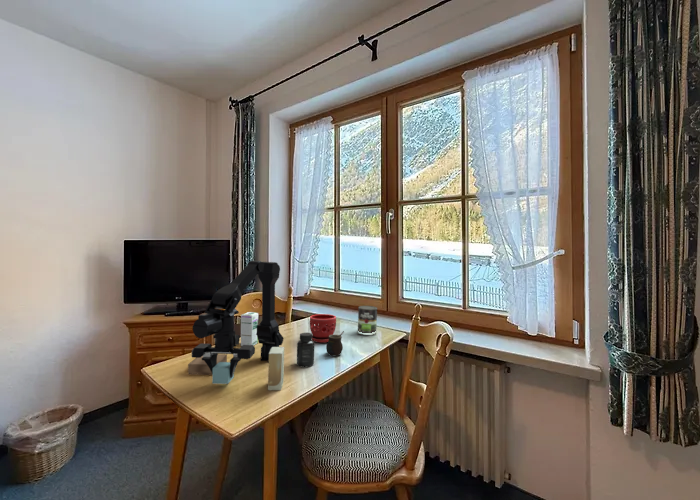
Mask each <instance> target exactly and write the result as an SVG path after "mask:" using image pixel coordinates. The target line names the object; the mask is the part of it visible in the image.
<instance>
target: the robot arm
mask: <svg viewBox="0 0 700 500" xmlns="http://www.w3.org/2000/svg"><path fill="white" fill-rule="evenodd" d="M280 273H281V266H280V265H279V263H278V262H274V261H260V260H249V261H248V262H247V265H246V266H245V267H244V268H243V269H242V270H241V271H240V273H239V274H238V275H237V276H236V277H235V278H234V279H233V280H232V281H231V282H230V283H229V284H228V285H225V286H222V287H221V288H220V289H218V290H217V291H215V292H214V293H213V295H212V298H211V300H210V301H209V304H208V305H207V308H206V309H205V311H204V314H199V315H198V316H197V317H198V319H196V320H195V321H194V322H193V324H192V332H193V335H194V336H195V337H196V338H197V339H204V338H206V337H209V336H213V338H212V339H214V347H213V346H212V344H211V343H199V344H198V345H196V346H195V347H193V348H192V350H191V358H194V359H195V358H201V357H202V356H203V358H202V360H204V361H205V362H206V364H207V365H208V367H209V368H210V370H211V372H212V374H213V367H214V366H215V365H217V355H218V354H227V355H232V356H233V357H231V358H230V360H229V362H230V378H232V377H233V374H234V375H235V372H236V369H237V366H238V363H239V362H240V361H241V360H250V359H251V358H252V357H253V356H254V355H255V353H256V347H255V345H254V346H253V345H242V346H241V345H240V347H236V346H238V345H239V344H240V341H241V334H240V335H239V334H236V330H235V315H237V314H239V313H240V312H239V310H237V306H239V303H240V302H241V300H242V294H243V292H244V291H245V290H246V288H247V287H248V286H249V285H250V284H251V282H253V280H255V278H256V277H258V279H259V281H260V283H261V291H262V292H261V299H262V300H261V321H260V323H258V325H257V333H256V335H257V337H258V344H260V345H262V346H261V347H260V361H264V362H266V361H267V362H269V352H270V350H271V348H272V347H280V346H282V344H283V343H284V340H285V339H284V336H283V335H282V334H281V333H280V326H279V323H278V321H277V320H276V314H275V313H276V308H275V307H276V302H275V301H276V283H277V281H278V280H279V279H280Z"/></svg>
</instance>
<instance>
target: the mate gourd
mask: <svg viewBox="0 0 700 500" xmlns="http://www.w3.org/2000/svg"><path fill="white" fill-rule="evenodd" d="M344 333H345V331H344V330H343V331H342V332H341V333H340V334H333V335H329V338H328V339H329V340H328V343H327V342H326V346H325V350H326V353H327V354H328V355H329V356H330V355H331V356H332V357H338V356H340V355H341V354H342V351H343V350H344V349H343V344H342V335H343V334H344Z"/></svg>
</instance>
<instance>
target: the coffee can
mask: <svg viewBox="0 0 700 500" xmlns="http://www.w3.org/2000/svg"><path fill="white" fill-rule="evenodd" d="M357 315H358V316H357V317H358V319H357V322H358V323H357V332H358V331H359V332H362V333H372V332H375V331H376V332H377V326H378V325H377V320H378V319H377V318H378V307H376V306H373V305H360V306H358V314H357Z"/></svg>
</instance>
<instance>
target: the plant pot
mask: <svg viewBox="0 0 700 500" xmlns="http://www.w3.org/2000/svg"><path fill="white" fill-rule="evenodd" d="M336 326H337V316H336V315H334V314H329V313H319V314H318V313H317V314H312V315H310V316H309V330H310V333H311V334H312V339H311V340H313V341H314V343H321V344H322V343H326V344H327V342H328V340H329V339H328V338H329V335H335V332H336Z"/></svg>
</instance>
